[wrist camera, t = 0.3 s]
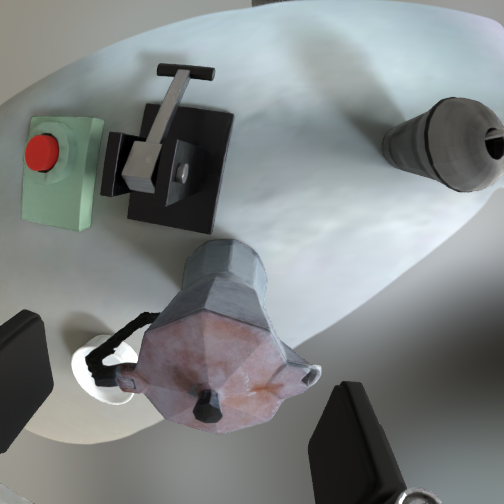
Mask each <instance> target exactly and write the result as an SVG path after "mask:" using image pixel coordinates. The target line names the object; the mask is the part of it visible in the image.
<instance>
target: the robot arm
mask: <svg viewBox="0 0 504 504" xmlns="http://www.w3.org/2000/svg"><path fill="white" fill-rule="evenodd" d="M53 386H54V382H53V377H52V372H51V367H50V361H49V355H48V349H47V343H46V335H45V328H44V322H43V321H42V320H41V317H40V315H38V314H36V313H34V312H31V311H29V310H25V309H24V310H22V311H21V312H19V313H18V314H16V315H15V316H14V317H12V318H11V319H9V320H8V321H7V322H5V323H4V324H3V325H1V326H0V454H1V453H4V452H6V451H7V449H8V448H9V447H10V445H11V444H12V442H13V441H14V440H15V438H16V437H17V436H18V434H19V433H20V432H21V430H22V429H23V428H24V427H25V425H26V424H27V423H28V421H29V420H30V419H31V417H32V416H33V415H34V414H35V412H36V411H37V410H38V408H39V407H40V406H41V405H42V403H43V402H44V401H45V400H46V398H47V397H48V396H49V395H50V393H51V392H52V390H53ZM308 455H309V462H310V469H311V476H312V482H313V489H314V496H315V503H316V504H442V503H441V501H440V499H439V498H438V497H437V496H436V495H435V494H434V493H433V492H431V491H429V490H427V489H424V488H411V489H407V487H406V484H405V482H404V480H403V477H402V475H401V472H400V469H399V467H398V464H397V462H396V459H395V457H394V454H393V452H392V449H391V447H390V444H389V442H388V440H387V437H386V435H385V432H384V430H383V428H382V426H381V425H380V424H379V422H378V420H377V417H376V415H375V413H374V410H373V408H372V406H371V404H370V401H369V399H368V396H367V394H366V392H365V389H364V387H363V385H362V383H360V382H350V381H342V382H341V384H340V385H336V386H335V387H334V389H333V391H332V393H331V396H330V398H329V400H328V403H327V405H326V407H325V409H324V411H323V414H322V416H321V418H320V420H319V422H318V424H317V426H316V429H315V431H314V433H313V435H312V437H311V439H310V441H309V444H308ZM0 504H34V503H32V502H31V501H29V500H27V499H25V498H23V497H22V496H20V495H18V494H17V493H15V492H14V491H12V490H10V489H9V488H7V487H5V486H4V485H2V484H1V483H0Z"/></svg>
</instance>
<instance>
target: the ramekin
mask: <svg viewBox="0 0 504 504" xmlns="http://www.w3.org/2000/svg"><path fill="white" fill-rule="evenodd" d="M110 337H111V335H98V336H95V337H94V338H92V339H91V340H90V341H89V342H87V343H86V344H85V345H84V346H82V347H80V348H79V349H77V350H76V351H75V352H74V354H73V356H72V359H71V368H72V371H73V374H74V376H75V378H76V380H77V382H78V383H79V385H80V386H81V387H82V388H83V389H84V390H85V391H86V392H87V393H88V394H90V395H91V396H92V397H94V398H96V399H97V400H99V401H102V402H104V403H108V404H114V405H117V404H123V403H126V402H128V401H129V400H130V399H131V398H132V397H133V395H134V393H130V392H123V391H122V390H121V389H120V388H119V386H117V387H97V386H96V385H95V380H94V378H92V377H91V375H92V373H91V372H89V371H88V366H87V365H86V362H85V356H87V355H88V354H89V353H90V352H91V351H92V350H93V349H95V348H97V347H99V346H100V345H101V344H102V343H104V342H106V341H107V339H109V338H110ZM114 350H116V351H115V352H114V354H111V355H109V356H107V357H106V358H105V359H103V360H102V363H103V365H107V366H110V365H116V364H120V363H125V362H132V363H137V361H138V357H137V355H136V353H135V352H134V350H133V349H132V348H131V347H130V346H129V345H128V344H127V343H126V342H124V341H123V342H122V343H121V344H120V345H119V346H118V347H117V348H114Z"/></svg>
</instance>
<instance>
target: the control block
mask: <svg viewBox="0 0 504 504" xmlns="http://www.w3.org/2000/svg"><path fill="white" fill-rule="evenodd" d="M103 126H104V120H101V119H97V118H93V117H64V116H34V117H32V119H31V125H30V131H29V137H28V139H27V141H26V143H25V148H24V156H23V161H24V165H25V168H24V179H23V192H22V212H21V219H23V220H28V221H32V222H37V223H41V224H46V225H50V226H55V227H59V228H64V229H68V230H73V231H78V232H79V231H82V230H84V229H87V228H89V227H90V226H91V213H92V202H93V193H94V184H95V176H96V168H97V161H98V155H99V149H100V143H101V137H102V131H103ZM37 135H46V136H52V137H53V138H54V139H55V140H56V141H57V143H58V147H59V154H58V158H57V161H56V163H55V164H54V165H53V167H51V168H50V169H48V170H40V171H33V170H31V169H30V168H29V167H28V166H27V164H26V161H25V150H26V146H27V144H28V142H29V141H30V140H31V139H32V138H33V137H34V136H37Z"/></svg>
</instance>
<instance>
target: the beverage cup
mask: <svg viewBox="0 0 504 504" xmlns="http://www.w3.org/2000/svg"><path fill="white" fill-rule="evenodd" d="M382 146H383V153H384V156H385V158H386V160H387V161H388V162H389V164H391V165H392V166H393V167H395V168H398V169H401V170H403V171H406V172H410V173H413V174H417V175H420V176H424V177H427V178H431V179H434V180H437V181H438V182H440V183H442V184H444V185H446V186H447V187H448V188H450V189H453V190H455V191H457V192H472V191H479V190H482V189H485V188H487V187H489V186H491V185H493V184H494V183H495V182H496V181H497V180H498V179H499V178H500V177H501V176H502V175H503V173H504V126H503V124H502V122H501V120H500V119H499V118H498V117H497V116H496V114H495V113H494V112H493V111H492V110H491V109H489V108H488V107H486V106H485V105H483V104H482V103H480V102H478V101H476V100H471V99H466V98H456V97H450V98H446V99H442V100H440V101H439V102H438V103H437V104H436V105H434V106H433V107H432V108H431V109H430V110H429V111H428V112H426V113H424V114H421V115H419V116H417V117H415V118H413V119H411V120H409V121H407V122H404V123H402V124H400V125H398V126H396V127H395V128H394V129H391V130H390V131H389V132H388V133H387V134H386V135H385V137H384V140H383V144H382Z"/></svg>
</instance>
